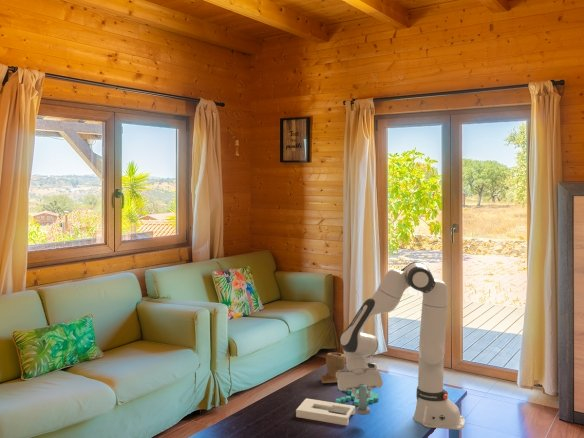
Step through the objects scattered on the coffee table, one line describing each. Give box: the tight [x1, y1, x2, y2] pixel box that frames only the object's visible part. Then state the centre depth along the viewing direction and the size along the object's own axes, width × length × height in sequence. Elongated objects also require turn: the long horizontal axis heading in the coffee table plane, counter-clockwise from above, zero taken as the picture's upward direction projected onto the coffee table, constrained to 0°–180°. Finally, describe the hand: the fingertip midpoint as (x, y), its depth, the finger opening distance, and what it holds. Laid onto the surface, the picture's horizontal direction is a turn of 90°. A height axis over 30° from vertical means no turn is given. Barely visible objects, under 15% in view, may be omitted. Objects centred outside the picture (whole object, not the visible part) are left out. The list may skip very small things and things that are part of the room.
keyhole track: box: [295, 397, 356, 426], centre depth 255 cm, size 24×14×3 cm, turn 70°
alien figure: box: [335, 389, 380, 407], centre depth 275 cm, size 20×2×20 cm
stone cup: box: [320, 352, 346, 384], centre depth 297 cm, size 15×12×15 cm
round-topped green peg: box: [355, 384, 371, 416], centre depth 244 cm, size 6×6×12 cm
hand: (363, 398), depth 244 cm, fingers closed on round-topped green peg, 4 cm apart
